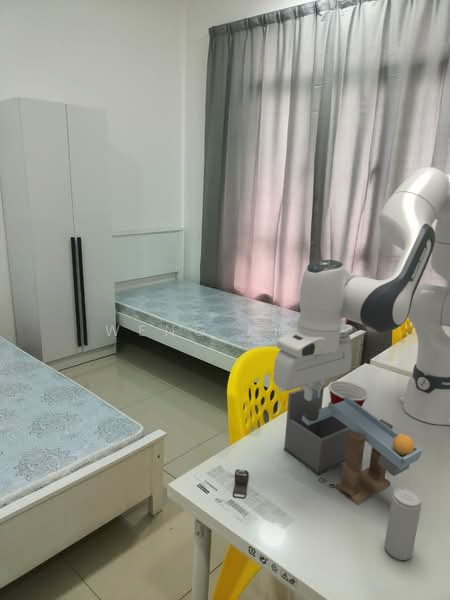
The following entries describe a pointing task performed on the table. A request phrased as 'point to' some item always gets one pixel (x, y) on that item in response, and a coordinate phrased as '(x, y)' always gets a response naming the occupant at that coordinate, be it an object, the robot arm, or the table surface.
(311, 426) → the bin
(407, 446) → the ball
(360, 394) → the plastic cup
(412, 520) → the beverage can
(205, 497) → the table surface
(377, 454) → the stand
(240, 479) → the grey hinged case
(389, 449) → the lever
